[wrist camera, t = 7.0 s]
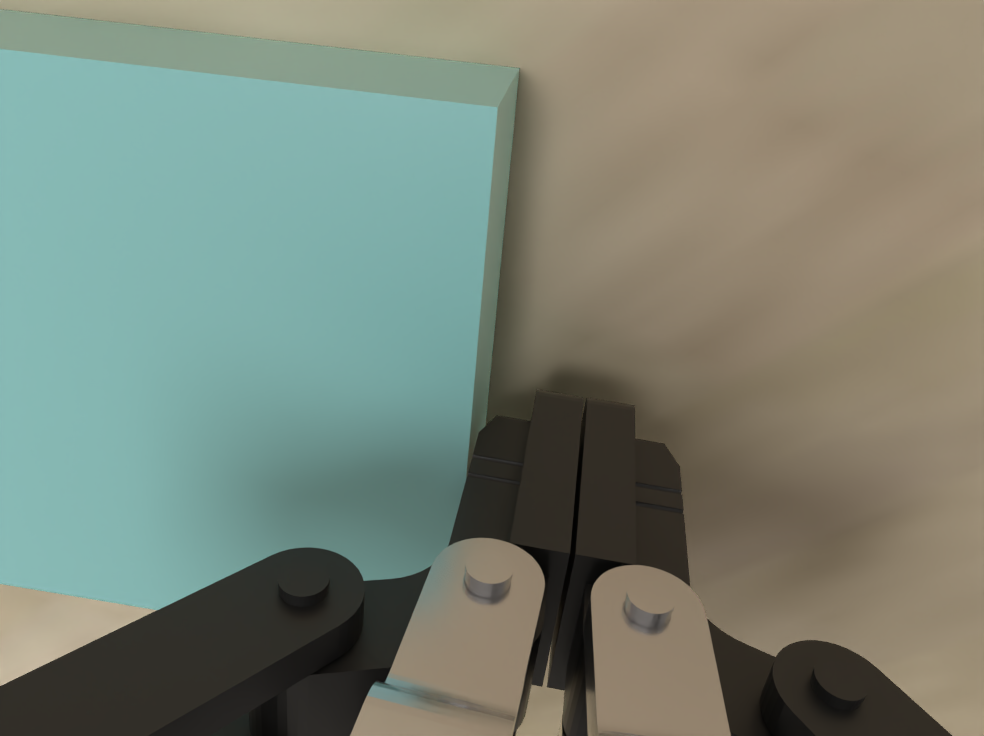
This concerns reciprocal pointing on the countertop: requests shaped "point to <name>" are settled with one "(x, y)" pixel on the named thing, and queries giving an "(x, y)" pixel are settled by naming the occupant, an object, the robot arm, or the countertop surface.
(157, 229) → the thin teal board
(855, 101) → the countertop surface
